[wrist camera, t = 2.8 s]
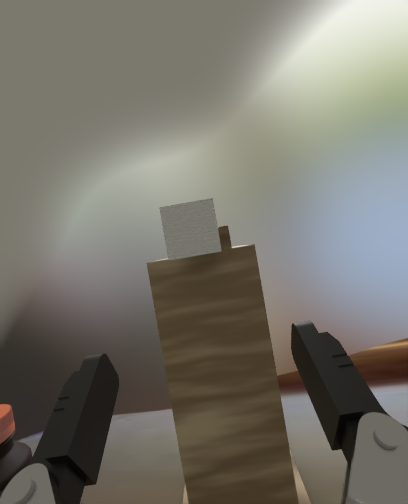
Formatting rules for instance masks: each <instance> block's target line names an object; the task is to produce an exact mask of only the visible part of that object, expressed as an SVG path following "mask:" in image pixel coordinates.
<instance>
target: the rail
mask: <svg viewBox="0 0 408 504" xmlns="http://www.w3.org/2000/svg"><path fill="white" fill-rule="evenodd" d="M160 213H161V219H162V225H163V231H164V237H165V242H166V248H167V253H168V260H175V259H181V258H187V257H193V256H198V255H204V254H210V253H216V252H222V250H221V244H220V239H219V233H218V227H217V221H216V215H215V210H214V204H213V198H211V199H205V200H200V201H194V202H188V203H182V204H177V205H171V206H166V207H160Z"/></svg>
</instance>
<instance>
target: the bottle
mask: <svg viewBox="0 0 408 504" xmlns="http://www.w3.org/2000/svg"><path fill="white" fill-rule="evenodd" d="M14 435H15V424H14V418H13V412H12V407H11V406H10V405H7V404H2V405H0V492H1V491H2V490H4V489H5V488H6V486H7V485H8V483H9V482H10V481H11V480H12V478H13V477H14V476H15V475H16V474H17V473H19V472H20V471H21V470H22V469H24V468H25V467H27V466H28V465H29V463H30V462H31V460H32V458H33V457H32V452H31V448H30V447H29V446H27V445H26V444H24V443H21V442H17V441H13V436H14Z"/></svg>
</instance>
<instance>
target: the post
mask: <svg viewBox="0 0 408 504" xmlns="http://www.w3.org/2000/svg"><path fill="white" fill-rule="evenodd" d="M218 233H219V239H220V244H221V250H222V252H216V253H210V254H204V255H198V256H193V257H187V258H181V259H175V260H168V258H167V259H162V260H158V261H153V262H149V263H147V268H148V273H149V278H150V285H151V290H152V296H153V302H154V307H155V313H156V319H157V324H158V330H159V336H160V341H161V348H162V353H163V359H164V364H165V371H166V376H167V382H168V387H169V393H170V399H171V405H172V411H173V416H174V422H175V428H176V434H177V439H178V445H179V451H180V456H181V462H182V468H183V474H184V479H185V488H184V497H183V504H311V502H310V500H309V497H308V495H307V492H306V490H305V487H304V484H303V482H302V479H301V477H300V474H299V472H298V469H297V467H296V464H295V462H294V459H293V456H292V454H291V451H290V449H289V443H288V438H287V432H286V426H285V420H284V414H283V408H282V403H281V397H280V391H279V385H278V379H277V373H276V367H275V362H274V356H273V350H272V344H271V338H270V333H269V327H268V321H267V315H266V309H265V303H264V297H263V292H262V286H261V280H260V274H259V268H258V262H257V257H256V251H255V245H254V244H253V245H243V246H235V247H231V241H230V235H229V230H228V226H223V227H219V228H218Z"/></svg>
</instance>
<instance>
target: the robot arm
mask: <svg viewBox="0 0 408 504" xmlns="http://www.w3.org/2000/svg"><path fill="white" fill-rule="evenodd" d="M291 350H292V355H293V359H294V361H295V364H296V366H297V369H298V371H299V373H300V376H301V378H302V380H303V383H304V385H305V387H306V390H307V392H308V395H309V397H310V399H311V402H312V404H313V406H314V409H315V411H316V413H317V416H318V418H319V420H320V423H321V425H322V428H323V430H324V432H325V435H326V437H327V439H328V442H329V444H330V446H331V449H332V450H339V449H342V451H343V453H344V456H345V458H346V460H347V466H346V472H345V479H344V485H343V491H342V498H341V504H408V427H406V426H404V425H402V424H400V423H399V422H398V421H397V420H395V419H393V418H392V417H391V416H389V415H388V414H387V413H386V412H385V411H384V409H383V408H382V407H381V405H380V404H379V402H378V401H377V399H376V398H375V396H374V395H373V393H372V392H371V390H370V389H369V387H368V385H367V384H366V382H365V381H364V379H363V378H362V376H361V375H360V373H359V372H358V370H357V368H356V367H355V366H354V365H353V362H352V361H351V359H350V358H349V356H347V353H346V352H345V350H344V348H343V347H342V345H341V344H340V342H339V341H338V340H337V339H335V338H334V337H333V336H332V335H330V334H329V333H328V332H324V333H318V331H317V329H316V328H315V326H314V324H313V323H312V322H311V321H306V322H300V323H294V324H292V333H291ZM118 388H119V378H118V375H117V372H116V371H115V369H114V367H113V365H112V363H111V362H110V360H109V358H108V356H107V355H106V354H99V355H92V356H87V357H86V358H85V359H84V361H83V363H82V366H81V368H80V371H77V372H74V373H73V374H72V375H71V377H70V378H69V379H68V380H67V382H66V383H65V384H64V386H63V389H62V391H61V393H60V396H59V400H58V401H57V402H56V405H55V407H54V409H53V410H54V411H53V413H52V414H51V416H50V419H49V421H48V423H47V426H46V428H45V430H44V432H43V435H42V437H41V439H40V442H39V444H38V446H37V449H36V451H35V453H34V455H33V458H32V460H31V462H30V463H29V465H28V466H27V467H25V468H24V469H22V470H21V471H20V472H19V473H17V474H16V475H15V476H14V477H13V478H12V480H11V481H10V482H9V483H8V485H7V486H6V488H5V489H4V490H2V491H1V492H0V504H83V501H82V499H81V497H82V493H83V489H84V486H88V485H94V484H96V482H97V478H98V473H99V469H100V465H101V461H102V456H103V452H104V448H105V444H106V440H107V435H108V431H109V427H110V423H111V418H112V414H113V410H114V406H115V401H116V397H117V392H118Z"/></svg>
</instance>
